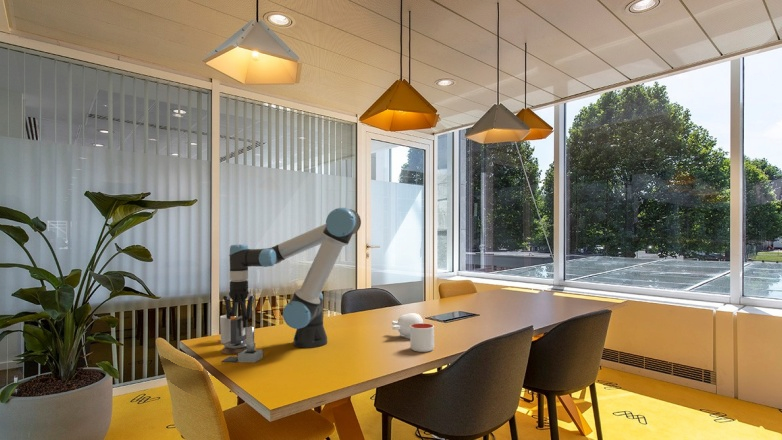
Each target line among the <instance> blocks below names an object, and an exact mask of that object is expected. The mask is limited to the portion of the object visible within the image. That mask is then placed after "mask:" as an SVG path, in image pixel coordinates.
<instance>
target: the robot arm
mask: <svg viewBox="0 0 782 440" xmlns="http://www.w3.org/2000/svg"><path fill="white" fill-rule="evenodd" d="M361 225H362V219H361V216H360V214H359V213H358V212H357V211H355V210H353V209H352V208H346V207H338V208H334V209H333V210H331V211H330V212H329V213H328V214H327V217H326V220H325V224H322V225H319V226H317V227H316V228H313V229H311V230H308V231H306V232H304V233H301V234H299V235H296V236H294V237H292V238H290V239H287V240H286V241H283V242H281V243H279V244H276V245H274V246H271V247H267V248H266V247H265V248H254V249H253V248H252V249H251V248H249V246H248V245H247V244H231V245H230V246H229V255H228V256H229V280H230V281H229V293H228V294H227V295H224V296H223V297H222V298H223V301H224V304H225V315H226V316H227V319H230V316H236V317H237V313H238V312H237V311H238V306H239V305H240V311H241V316H242V320H241V336H243V335H245V328H246V327H247V326H248V319H251V318H252V316H253V305H254V304H253V303H254V299H255V297H256V296H255V295H252V294H250V292H249V280H248V279H249V267H259V268H260V267H263V268H264V267H265V268H266V267H267V268H268V267H273V266H274V265H277V264H279V263H281V262H282V261H285V260H287V259H289V258H291V257H294V256H296V255H298V254H301V253H303V252H305V251H307V250H311V249H314V248H315V247H317V246H319V247H318V250H317V252H316V255H315V257H314V258H313V261H312V262H311V265H310V268H309V270H308V271H307V274H306V276H305V278H304V280H303V282H302V285H301V286H300V288H299V289H296V290H295V291H294V293H293V295H292V297H291V299H290V301H289V302H288V303H286V305H284V308H283V311H282V318H283V321H284V323H285V324H286V325H287V326H288V327H289V328H291V329H295V333H294V337H293V344H292V345H293V346H294V347H297V348H298V347H299V348H306V349H308V348H316V347H317V348H318V347H322V346H325V345H327V344H328V336H327V333H326V330H325V326H324V294H323V293H322V292H323V290H324V287H325V285H326V282H327V281H328V279H329V277H330V274H331V272H332V270H333V269H334V267H335V264H336V262H337V260H338V258H339V256H340V253H341V252H342V250H343V247H345V246H347V245H348V244H349V243H350V241H351V239H352V237H353V235H354V234H356V233H357V232H358V231H359V230H360V228H361ZM246 300H247V301H246ZM231 301H232V302H231ZM238 304H239V305H238Z"/></svg>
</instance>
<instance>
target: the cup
mask: <svg viewBox="0 0 782 440" xmlns="http://www.w3.org/2000/svg"><path fill="white" fill-rule="evenodd" d="M409 342H410V349H411V350H412V351H414V352H417V353H427V352H432V351H433V350H434V348H435V325H433V324H432V323H431V324H430V323H424V322H423V323H420V324H413V325H411V326H410V341H409Z"/></svg>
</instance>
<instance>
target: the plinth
mask: <svg viewBox="0 0 782 440" xmlns="http://www.w3.org/2000/svg"><path fill="white" fill-rule="evenodd" d="M256 345H257V344H256V342H254V349H256ZM246 349H247V348H242V349H227V348H225V347H223V348H222V350H221V353H222V354H227V355H228V354H229V355H231V354H232V355H238V354H239V353H241V352H243V351H244V350H246Z"/></svg>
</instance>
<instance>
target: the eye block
mask: <svg viewBox="0 0 782 440" xmlns="http://www.w3.org/2000/svg"><path fill="white" fill-rule="evenodd" d="M263 353H264V351H263V349H254V353H253V354H249V353H247V349H246V350H244V351H243V352H241V353H239V354H237V357H238V361H237V363H256V362H258V361H260V360H261V359H262V358H263V357H264V354H263Z"/></svg>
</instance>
